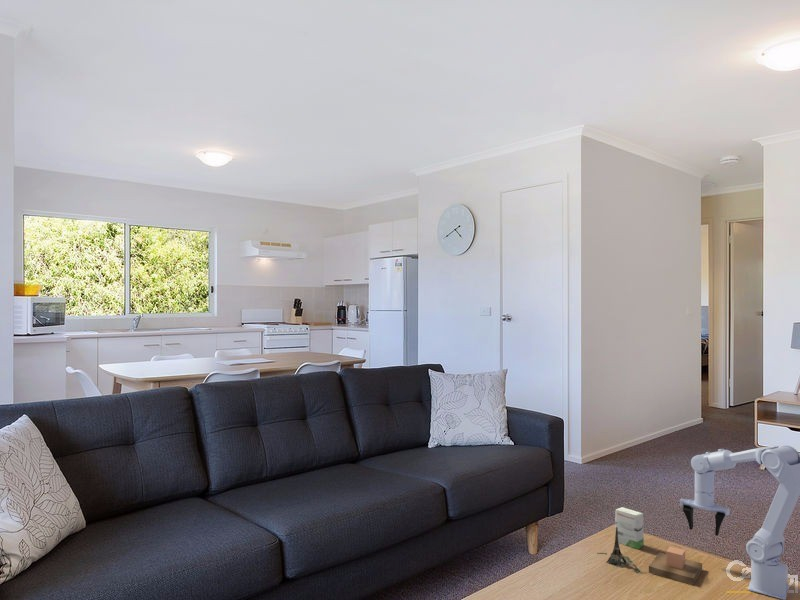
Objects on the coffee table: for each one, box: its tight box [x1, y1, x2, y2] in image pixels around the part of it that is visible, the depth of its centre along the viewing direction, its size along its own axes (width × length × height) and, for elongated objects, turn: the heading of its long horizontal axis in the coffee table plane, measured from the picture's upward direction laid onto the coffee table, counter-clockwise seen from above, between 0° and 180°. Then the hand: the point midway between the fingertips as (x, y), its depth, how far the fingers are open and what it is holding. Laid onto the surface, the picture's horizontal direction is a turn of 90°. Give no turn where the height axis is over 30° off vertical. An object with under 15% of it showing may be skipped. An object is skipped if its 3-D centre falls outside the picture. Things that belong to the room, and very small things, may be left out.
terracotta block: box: [665, 546, 686, 569], centre depth 185 cm, size 5×5×4 cm
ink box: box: [614, 506, 645, 550], centre depth 206 cm, size 9×5×12 cm, turn 39°
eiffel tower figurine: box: [596, 527, 642, 574], centre depth 191 cm, size 15×10×13 cm
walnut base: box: [648, 551, 703, 586], centre depth 185 cm, size 13×13×2 cm
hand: (704, 531), depth 191 cm, fingers open, 7 cm apart
